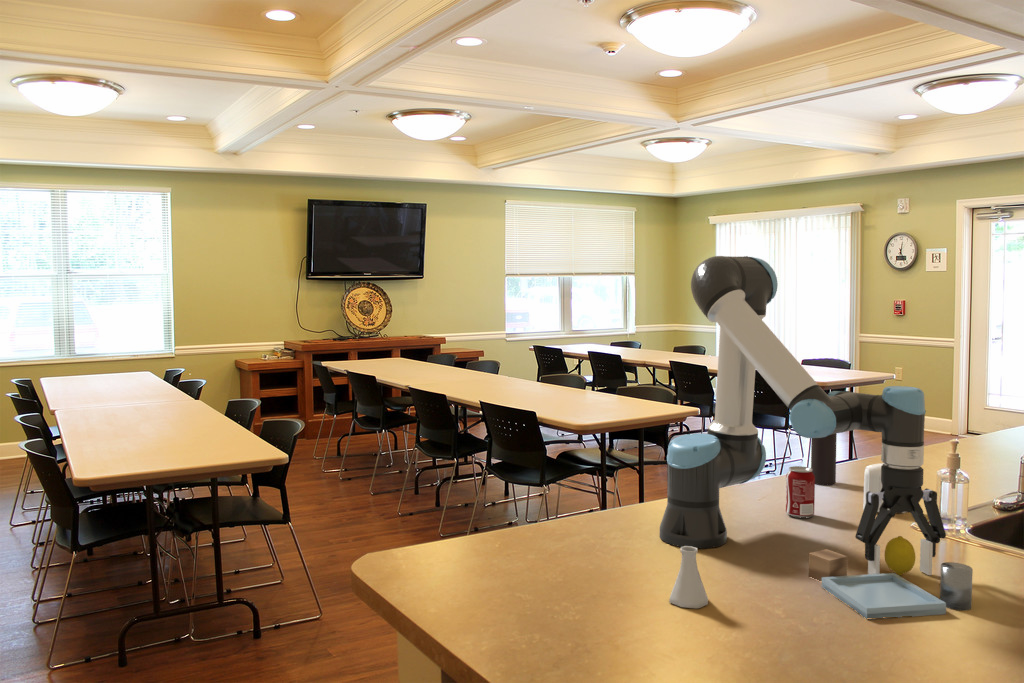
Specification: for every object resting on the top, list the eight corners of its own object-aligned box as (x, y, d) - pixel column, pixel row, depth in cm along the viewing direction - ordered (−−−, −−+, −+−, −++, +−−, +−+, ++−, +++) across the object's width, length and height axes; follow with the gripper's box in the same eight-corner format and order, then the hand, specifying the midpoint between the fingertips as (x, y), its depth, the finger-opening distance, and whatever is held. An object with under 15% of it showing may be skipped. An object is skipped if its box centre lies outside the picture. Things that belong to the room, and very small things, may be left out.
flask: (701, 612, 142) (701, 557, 141) (662, 604, 146) (662, 550, 145) (714, 599, 148) (714, 546, 147) (677, 591, 152) (677, 540, 151)
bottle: (839, 485, 230) (840, 417, 228) (815, 485, 230) (816, 417, 229) (830, 480, 237) (831, 413, 235) (807, 480, 237) (808, 413, 235)
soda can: (818, 519, 197) (819, 471, 196) (790, 519, 197) (791, 471, 196) (808, 511, 204) (809, 465, 203) (782, 511, 204) (782, 465, 203)
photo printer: (902, 509, 205) (903, 462, 204) (908, 514, 201) (910, 465, 200) (860, 508, 206) (861, 461, 205) (866, 513, 202) (867, 465, 201)
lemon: (912, 572, 161) (913, 533, 160) (916, 581, 155) (917, 541, 155) (882, 569, 162) (883, 530, 162) (885, 578, 157) (886, 539, 157)
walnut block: (829, 585, 154) (829, 560, 154) (808, 577, 158) (808, 553, 158) (846, 581, 156) (847, 556, 156) (826, 573, 161) (826, 549, 160)
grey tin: (952, 611, 141) (953, 572, 141) (933, 600, 146) (934, 563, 146) (978, 609, 142) (979, 571, 142) (958, 598, 147) (959, 561, 146)
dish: (866, 619, 138) (866, 608, 138) (821, 587, 153) (821, 577, 153) (945, 614, 140) (946, 602, 140) (893, 582, 155) (894, 572, 155)
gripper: (858, 471, 152) (856, 584, 153) (968, 466, 155) (965, 577, 157) (837, 463, 159) (835, 571, 161) (942, 458, 163) (940, 564, 164)
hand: (899, 574), depth 159 cm, fingers open, 11 cm apart
